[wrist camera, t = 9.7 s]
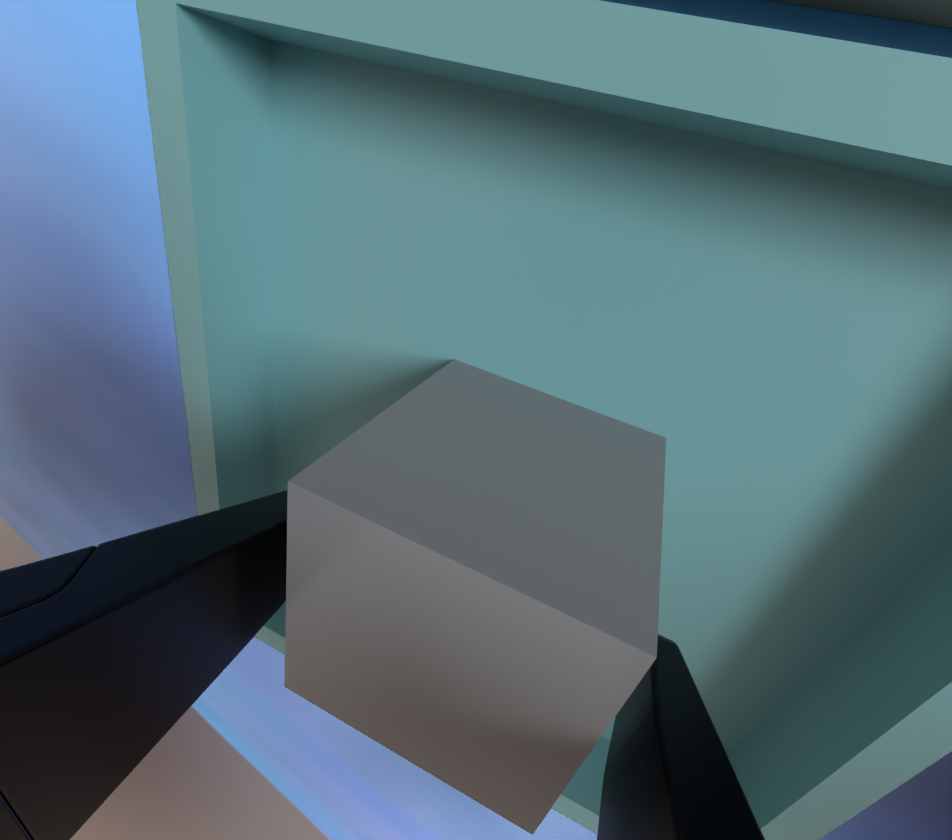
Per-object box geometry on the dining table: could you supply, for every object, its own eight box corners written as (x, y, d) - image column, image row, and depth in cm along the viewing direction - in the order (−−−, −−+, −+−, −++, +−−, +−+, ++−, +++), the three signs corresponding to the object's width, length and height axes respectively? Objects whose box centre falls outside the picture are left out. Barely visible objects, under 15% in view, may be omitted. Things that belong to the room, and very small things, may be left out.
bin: (1348, 195, 5) (1786, 194, 3) (713, 791, 13) (720, 905, 11) (258, -13, 9) (127, -77, 7) (268, 558, 17) (209, 610, 14)
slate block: (666, 437, 9) (658, 658, 5) (587, 592, 11) (532, 834, 7) (454, 359, 10) (288, 481, 6) (421, 515, 12) (284, 686, 8)
